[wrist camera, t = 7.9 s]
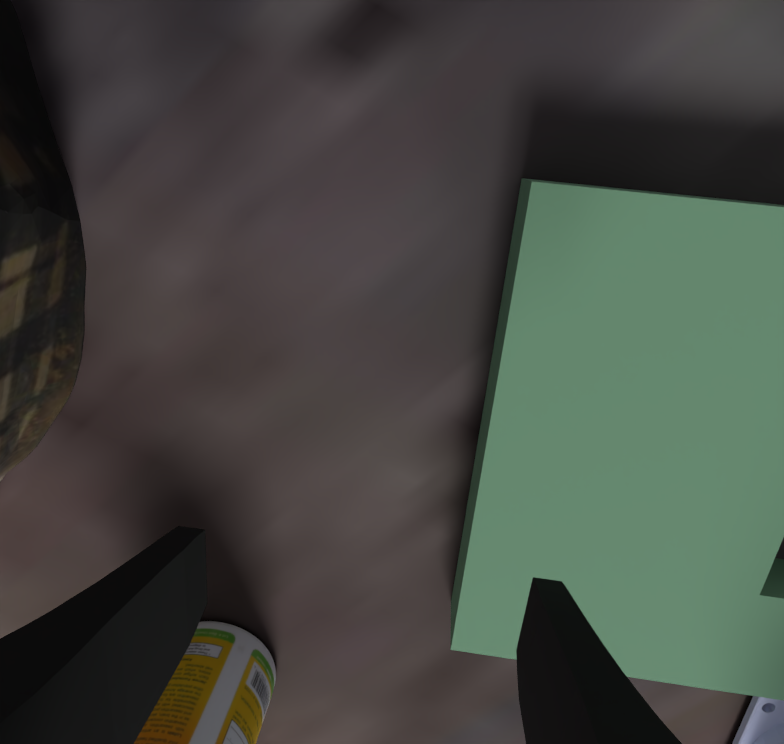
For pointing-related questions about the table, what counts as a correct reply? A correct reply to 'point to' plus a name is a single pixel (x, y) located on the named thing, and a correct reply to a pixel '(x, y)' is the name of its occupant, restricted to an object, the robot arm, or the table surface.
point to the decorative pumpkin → (34, 259)
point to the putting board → (636, 435)
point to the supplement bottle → (214, 690)
